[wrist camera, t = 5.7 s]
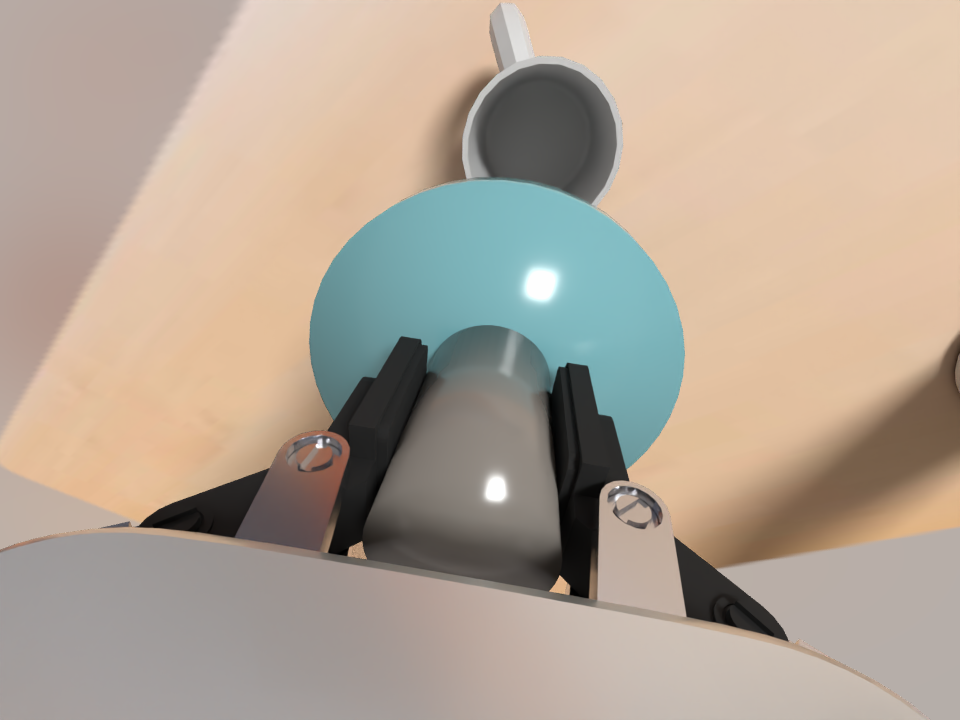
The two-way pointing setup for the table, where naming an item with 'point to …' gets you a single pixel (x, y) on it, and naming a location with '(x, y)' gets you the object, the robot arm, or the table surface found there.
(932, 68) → the table surface
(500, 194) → the lid
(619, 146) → the cup
